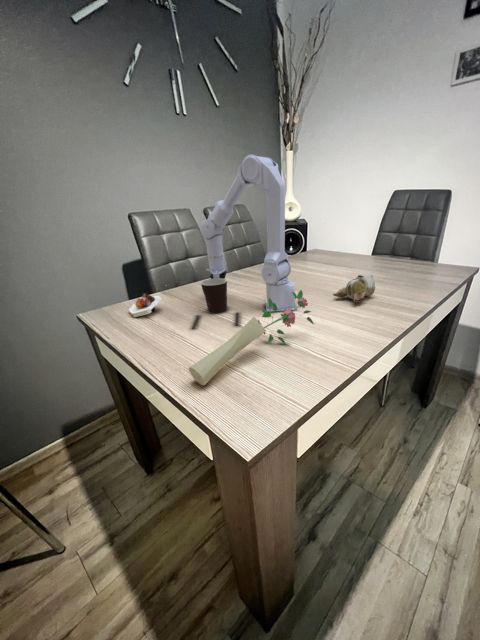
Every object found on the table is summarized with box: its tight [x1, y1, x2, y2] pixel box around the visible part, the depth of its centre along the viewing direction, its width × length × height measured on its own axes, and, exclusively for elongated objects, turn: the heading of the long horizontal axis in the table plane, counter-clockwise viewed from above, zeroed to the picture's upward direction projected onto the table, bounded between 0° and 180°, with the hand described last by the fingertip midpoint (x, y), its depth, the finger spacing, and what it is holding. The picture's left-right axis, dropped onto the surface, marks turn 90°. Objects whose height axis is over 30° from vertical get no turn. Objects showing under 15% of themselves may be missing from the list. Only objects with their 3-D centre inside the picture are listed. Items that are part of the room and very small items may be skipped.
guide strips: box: [191, 312, 240, 330], centre depth 87 cm, size 14×10×1 cm
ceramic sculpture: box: [332, 274, 376, 303], centre depth 96 cm, size 11×9×15 cm
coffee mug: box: [200, 278, 228, 314], centre depth 94 cm, size 12×9×10 cm
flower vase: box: [188, 289, 315, 386], centre depth 66 cm, size 12×12×35 cm
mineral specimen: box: [128, 292, 163, 318], centre depth 95 cm, size 12×12×7 cm
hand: (220, 292), depth 105 cm, fingers closed
